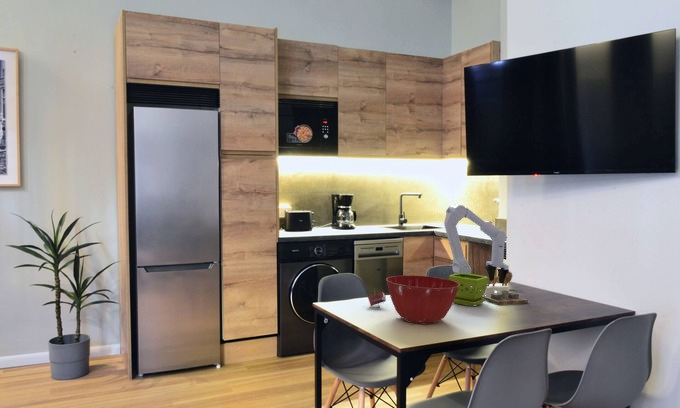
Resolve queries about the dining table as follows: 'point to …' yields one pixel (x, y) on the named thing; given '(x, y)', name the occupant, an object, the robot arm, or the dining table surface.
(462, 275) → the flower pot
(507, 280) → the lion figurine
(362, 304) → the dining table surface
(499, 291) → the cream bar
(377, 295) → the geometric puzzle
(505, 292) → the brown rectangular board
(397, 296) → the mixing bowl
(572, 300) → the dining table surface
